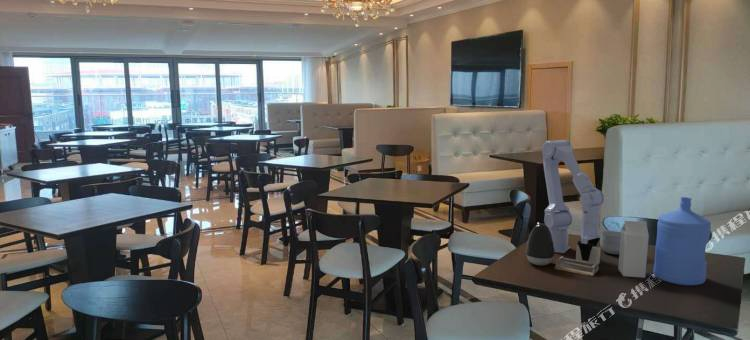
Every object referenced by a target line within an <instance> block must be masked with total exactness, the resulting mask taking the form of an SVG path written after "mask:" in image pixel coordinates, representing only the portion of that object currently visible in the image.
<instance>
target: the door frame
mask: <svg viewBox="0 0 750 340" xmlns="http://www.w3.org/2000/svg"><path fill="white" fill-rule="evenodd" d="M599 269H600V267H599V264H598V263H590V262H584V261H579V260H576V259H571V258H566V257H564V256H560V257H558V258H557V259H556V265H554V270H559V271H564V272H569V273H572V274H573V273H575V274H578V273H579V274H580V275H583V276H585V275H586V276H589V275H590V277H593V276H595V274H596V273H597V272H598V271H599ZM579 274H578V275H579Z"/></svg>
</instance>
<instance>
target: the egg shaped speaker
mask: <svg viewBox="0 0 750 340" xmlns="http://www.w3.org/2000/svg"><path fill="white" fill-rule="evenodd" d="M555 253H556V252H555V250H554V243H553V238H552V235H551V232H550V230H549V228H548V226H546V225H545V223H540V222H537V223H536V224H535V225H534V227H533V228H532V230H531V232H530V234H529V237H528V239H527V243H526V247H525V254H526V257H527V260H528V262H529V263H531V264H533V265H535V266H538V267H539V266H541V267H543V266H544V267H546V266H547V265H549V264H551V263H552V262H553V259H554V257H555V255H556V254H555Z"/></svg>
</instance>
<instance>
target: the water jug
mask: <svg viewBox="0 0 750 340" xmlns="http://www.w3.org/2000/svg"><path fill="white" fill-rule="evenodd" d="M692 200H693V199H692V198H691V197H686V196H683V197H682V196H681V197H680V203H679V209H676V210H673V211H669V212H666V213H663V214H660V215H659V216H658V219H657V220H658V221H657V225H656V228H657V232H656V242H655V246H654V248H655V250H654V251H655V253H654V254H655V256H654V266H653V272H652V273H653V275H654V276H655V277H656V278H658V279H659V280H661V281H663V282H666V283H670V284H675V285H678V286H679V285H680V286H700V285H703V284H704V283H705V282H706V277H707V274H706V273H707V264H708V262H707V260H706V259H705V257H706V248H707V244H708V243H709V242H710V235H711V230H712V228H711V224H712V223H711V221H710V220H709V219H707V218H706V217H703V216H702V215H700V214H698V213H696V212H694V211H692V209H691V207H692V206H691V205H692Z"/></svg>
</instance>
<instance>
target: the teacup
mask: <svg viewBox="0 0 750 340" xmlns="http://www.w3.org/2000/svg"><path fill="white" fill-rule="evenodd" d="M600 235H601V238H600V240H599V242H600V243H599V245H600V246H599V247H600V248H601V250H603V251H604V252H605V253H607V254H610V255H618V256H619V254H620V241H621V231H616V230H602V231H600Z"/></svg>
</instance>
